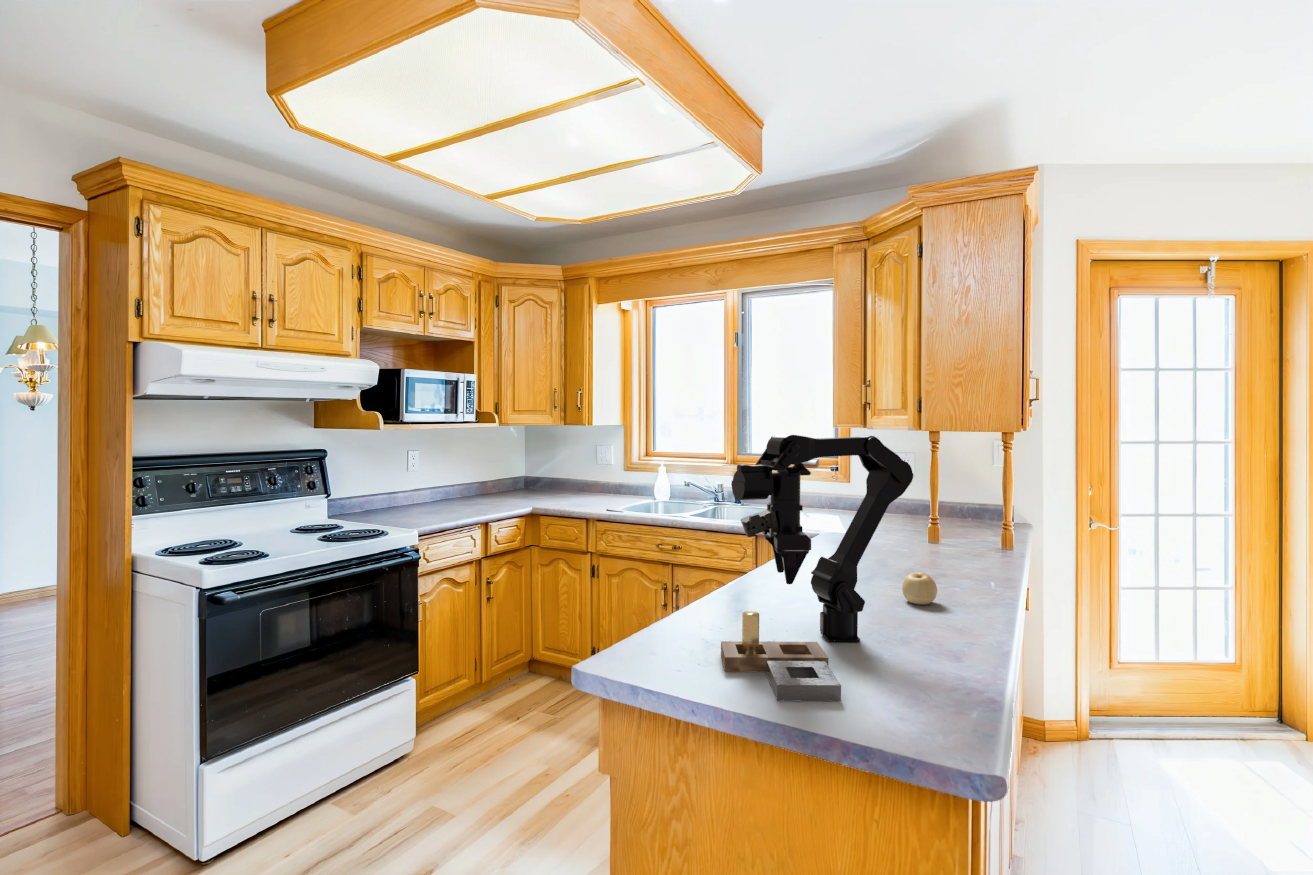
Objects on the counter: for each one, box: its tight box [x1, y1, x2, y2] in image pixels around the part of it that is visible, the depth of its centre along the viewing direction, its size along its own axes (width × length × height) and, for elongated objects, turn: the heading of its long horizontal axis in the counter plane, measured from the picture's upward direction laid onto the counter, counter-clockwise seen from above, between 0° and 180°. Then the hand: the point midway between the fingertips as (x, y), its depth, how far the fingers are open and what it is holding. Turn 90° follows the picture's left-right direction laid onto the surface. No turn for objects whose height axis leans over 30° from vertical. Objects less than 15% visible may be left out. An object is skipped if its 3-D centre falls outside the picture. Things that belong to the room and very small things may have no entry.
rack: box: [720, 640, 829, 673], centre depth 115 cm, size 18×8×2 cm, turn 89°
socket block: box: [766, 661, 842, 702], centre depth 105 cm, size 10×10×2 cm
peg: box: [741, 610, 760, 654], centre depth 115 cm, size 3×3×9 cm
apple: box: [901, 571, 938, 606], centre depth 154 cm, size 8×8×8 cm
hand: (784, 577), depth 125 cm, fingers open, 9 cm apart
